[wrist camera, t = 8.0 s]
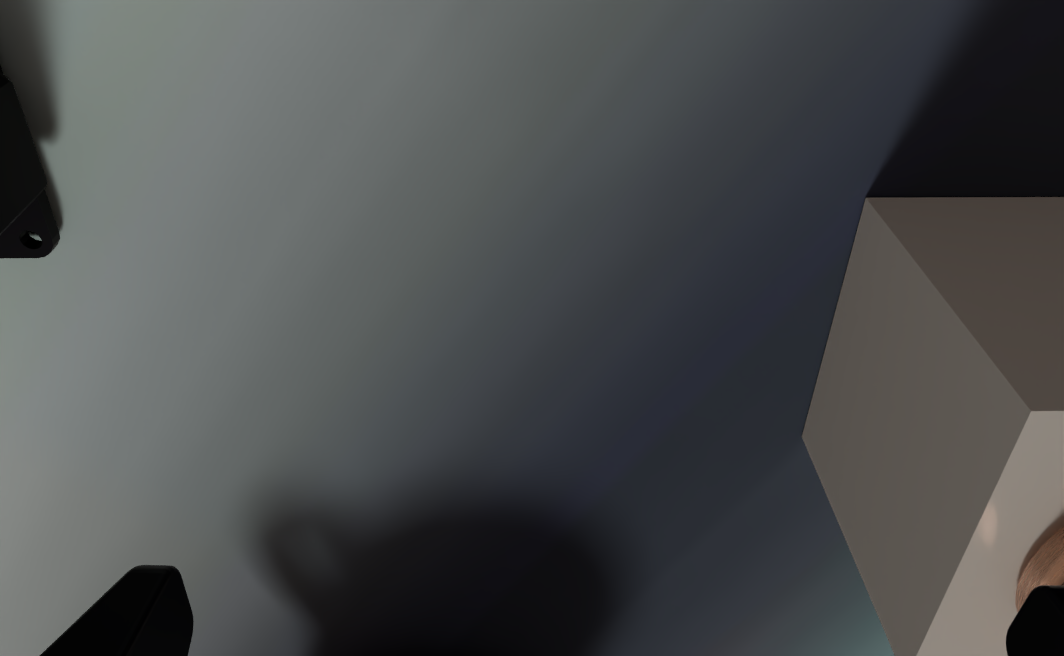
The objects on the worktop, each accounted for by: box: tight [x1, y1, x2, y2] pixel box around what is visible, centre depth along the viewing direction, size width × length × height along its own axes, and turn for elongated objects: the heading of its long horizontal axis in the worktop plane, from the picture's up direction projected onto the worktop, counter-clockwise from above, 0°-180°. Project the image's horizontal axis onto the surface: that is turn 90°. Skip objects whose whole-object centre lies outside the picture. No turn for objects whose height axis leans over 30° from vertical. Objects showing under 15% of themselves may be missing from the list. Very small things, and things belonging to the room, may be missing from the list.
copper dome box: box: [802, 197, 1064, 656], centre depth 21 cm, size 8×10×8 cm
